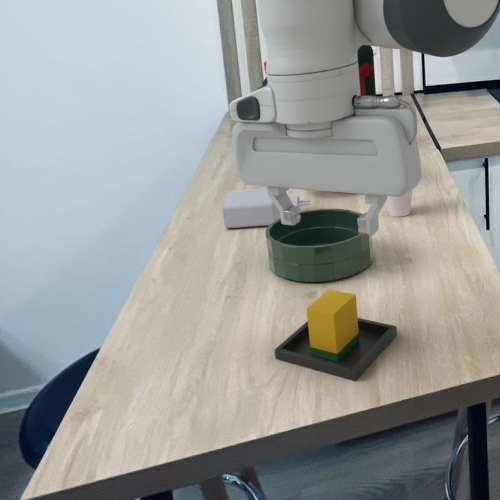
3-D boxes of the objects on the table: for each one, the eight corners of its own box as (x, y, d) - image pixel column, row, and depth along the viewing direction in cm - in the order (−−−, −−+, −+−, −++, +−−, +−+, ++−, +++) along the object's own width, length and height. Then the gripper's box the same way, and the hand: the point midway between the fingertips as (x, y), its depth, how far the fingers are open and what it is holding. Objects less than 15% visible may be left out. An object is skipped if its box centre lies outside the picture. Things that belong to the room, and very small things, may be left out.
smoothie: (411, 221, 109) (408, 138, 104) (374, 218, 112) (369, 138, 107) (423, 208, 114) (421, 128, 109) (388, 205, 117) (384, 128, 112)
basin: (390, 251, 99) (388, 214, 97) (340, 294, 88) (337, 253, 86) (304, 239, 108) (301, 204, 105) (250, 276, 97) (245, 239, 95)
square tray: (397, 338, 76) (396, 326, 75) (355, 385, 69) (354, 371, 68) (321, 321, 82) (320, 309, 81) (275, 362, 75) (274, 349, 74)
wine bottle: (349, 122, 182) (341, 8, 171) (348, 114, 192) (341, 6, 180) (378, 119, 181) (372, 4, 170) (376, 111, 190) (370, 2, 179)
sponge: (359, 340, 76) (356, 294, 74) (338, 362, 72) (333, 314, 70) (333, 334, 78) (328, 289, 76) (310, 354, 74) (305, 308, 72)
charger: (310, 224, 114) (225, 230, 116) (312, 206, 122) (233, 212, 125) (307, 198, 112) (221, 205, 114) (310, 182, 120) (230, 188, 123)
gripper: (429, 87, 60) (434, 226, 66) (251, 91, 72) (268, 209, 78) (400, 103, 56) (408, 251, 61) (215, 105, 68) (236, 228, 73)
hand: (328, 227), depth 70 cm, fingers open, 8 cm apart
